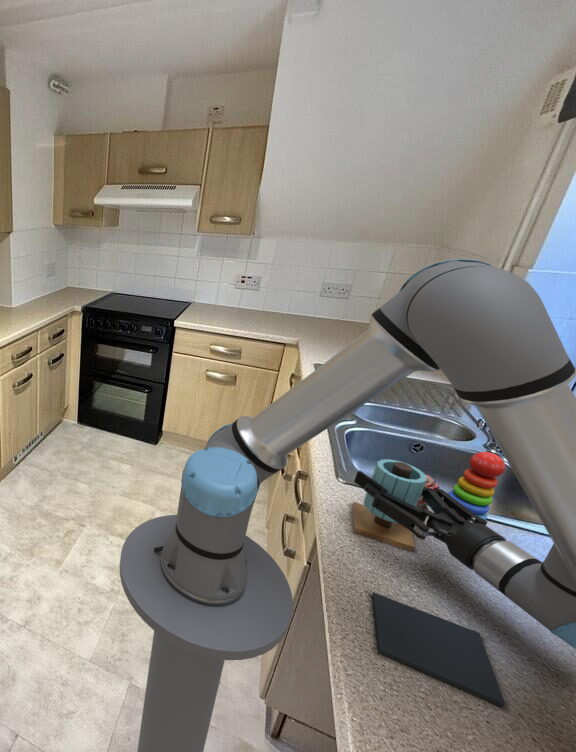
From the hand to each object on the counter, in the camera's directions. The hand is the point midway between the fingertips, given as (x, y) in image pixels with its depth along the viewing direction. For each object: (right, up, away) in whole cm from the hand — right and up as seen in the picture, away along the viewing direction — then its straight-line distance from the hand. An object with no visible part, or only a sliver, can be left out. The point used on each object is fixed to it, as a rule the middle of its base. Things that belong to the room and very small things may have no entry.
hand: (375, 475), depth 90 cm
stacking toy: (+17, -11, 0) cm, 21 cm away
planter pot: (+1, -7, -2) cm, 7 cm away
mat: (-11, -20, -25) cm, 34 cm away
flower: (+12, -9, +7) cm, 17 cm away
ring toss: (+1, -11, -1) cm, 11 cm away
